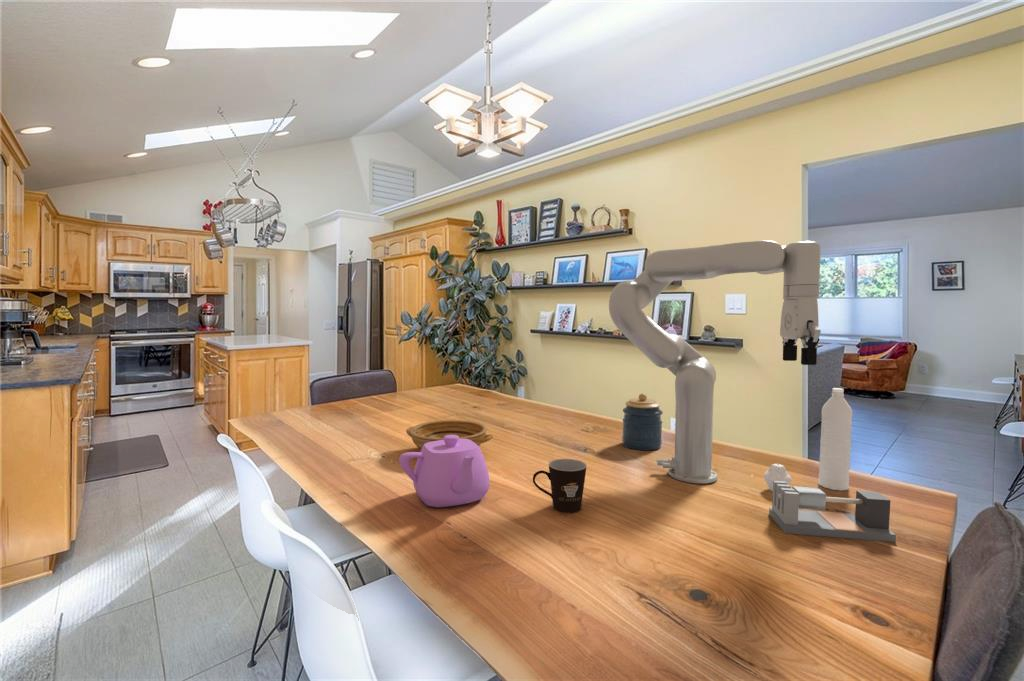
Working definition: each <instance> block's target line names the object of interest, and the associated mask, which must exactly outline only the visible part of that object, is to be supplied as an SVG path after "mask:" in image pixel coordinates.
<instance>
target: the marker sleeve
mask: <svg viewBox="0 0 1024 681" xmlns="http://www.w3.org/2000/svg"><path fill="white" fill-rule="evenodd" d="M791 489H794V490H795V492H797V493H798V494H799V507H798V510H812V511H826V504H827V502H826V497H827V494H826V493H825V491H823V490H821V488H819V487H813V486H811V487H809V486H808V487H807V486H795V485H792V488H791Z"/></svg>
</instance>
